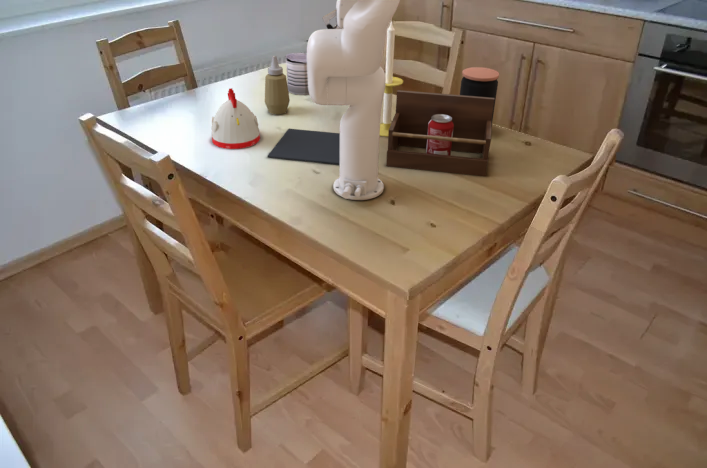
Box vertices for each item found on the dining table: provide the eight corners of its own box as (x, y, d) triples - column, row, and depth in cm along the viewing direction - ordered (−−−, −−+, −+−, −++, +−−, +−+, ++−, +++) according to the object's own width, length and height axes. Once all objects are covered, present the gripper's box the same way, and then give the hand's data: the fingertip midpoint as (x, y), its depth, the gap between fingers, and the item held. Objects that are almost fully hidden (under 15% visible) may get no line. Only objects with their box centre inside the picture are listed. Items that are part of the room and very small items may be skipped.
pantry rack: (485, 176, 153) (494, 118, 145) (386, 166, 158) (388, 109, 149) (486, 152, 166) (494, 97, 157) (394, 143, 170) (397, 90, 162)
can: (290, 83, 214) (288, 50, 208) (321, 85, 214) (320, 52, 207) (284, 94, 205) (282, 60, 198) (316, 95, 204) (315, 61, 198)
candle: (408, 134, 176) (415, 22, 159) (377, 138, 173) (381, 25, 156) (395, 122, 184) (400, 14, 167) (365, 126, 181) (368, 17, 164)
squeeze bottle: (295, 110, 192) (292, 55, 182) (279, 118, 186) (276, 61, 176) (276, 105, 195) (272, 51, 186) (260, 113, 189) (255, 57, 180)
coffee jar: (497, 130, 180) (506, 72, 170) (478, 140, 173) (486, 80, 163) (468, 121, 186) (475, 64, 176) (448, 130, 179) (455, 72, 169)
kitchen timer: (217, 151, 164) (210, 100, 156) (208, 133, 175) (201, 84, 167) (265, 144, 168) (261, 94, 160) (253, 127, 179) (249, 79, 171)
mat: (352, 166, 157) (352, 164, 157) (267, 157, 161) (267, 155, 161) (366, 137, 174) (366, 135, 173) (288, 130, 178) (288, 128, 177)
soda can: (449, 165, 159) (453, 123, 152) (424, 162, 160) (427, 121, 153) (450, 155, 164) (455, 114, 158) (426, 152, 165) (430, 112, 159)
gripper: (324, -17, 143) (325, 53, 153) (392, -18, 146) (389, 51, 155) (320, -22, 150) (321, 46, 159) (385, -23, 152) (383, 44, 162)
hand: (355, 49), depth 157 cm, fingers open, 9 cm apart
